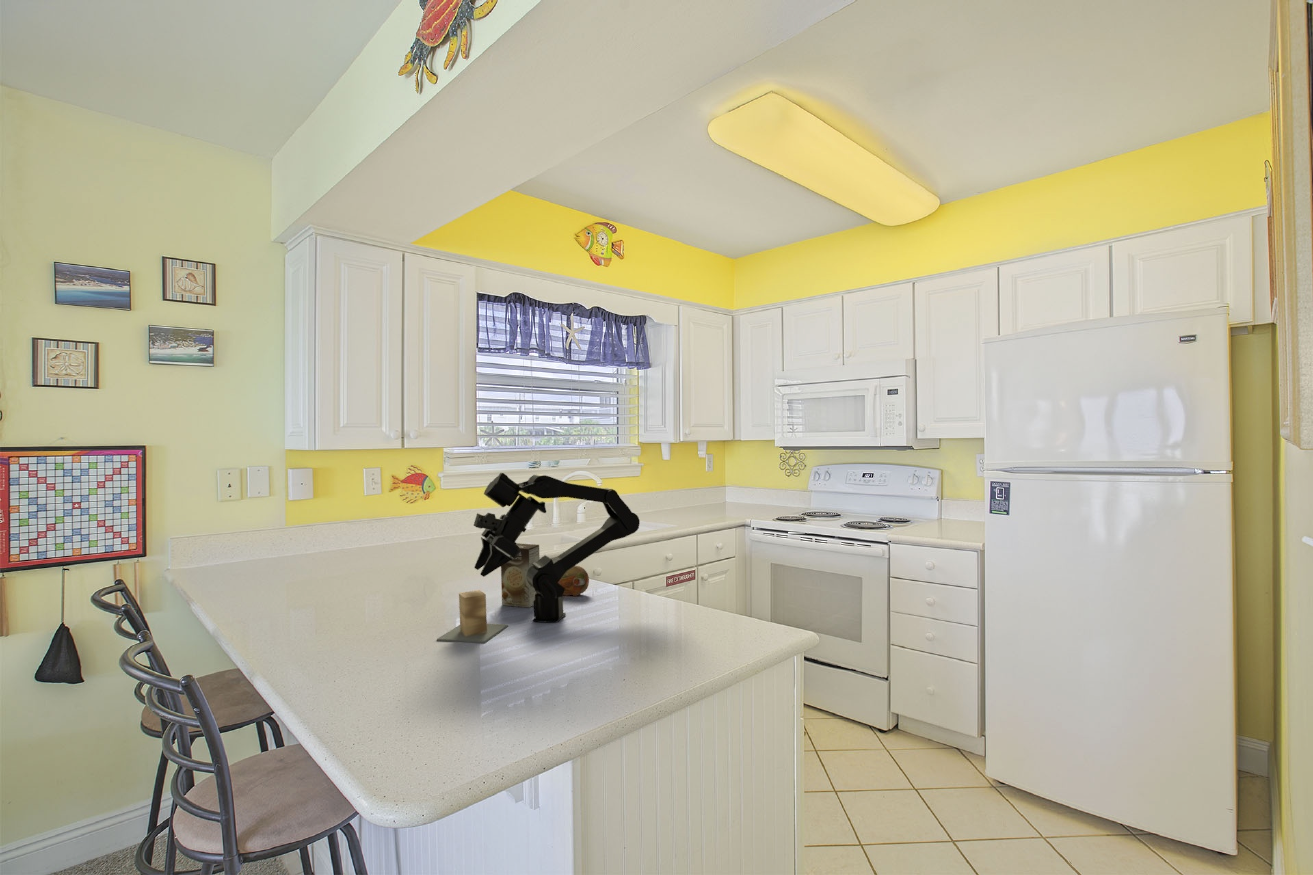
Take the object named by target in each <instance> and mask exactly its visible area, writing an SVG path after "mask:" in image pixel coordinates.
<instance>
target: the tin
mask: <svg viewBox="0 0 1313 875" xmlns="http://www.w3.org/2000/svg"><path fill="white" fill-rule="evenodd" d="M558 583H559V584H560V585H561V586H562V587H564V589H565V590H564V593H563V596H566V595H573V596H572V597H576V596H580V595H581V594H583V593H584V592H586V590H587V589H588V588H589V583H590V578H589V573H588V572H587V570H586V569H584V568H583V567H582V566H579V565H575V566H574V567H572V568H571V569H569V570H568V571H567V572H566V573H565V574H564V576H563V577H562V578H561V580H560V581H559V582H558Z"/></svg>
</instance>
